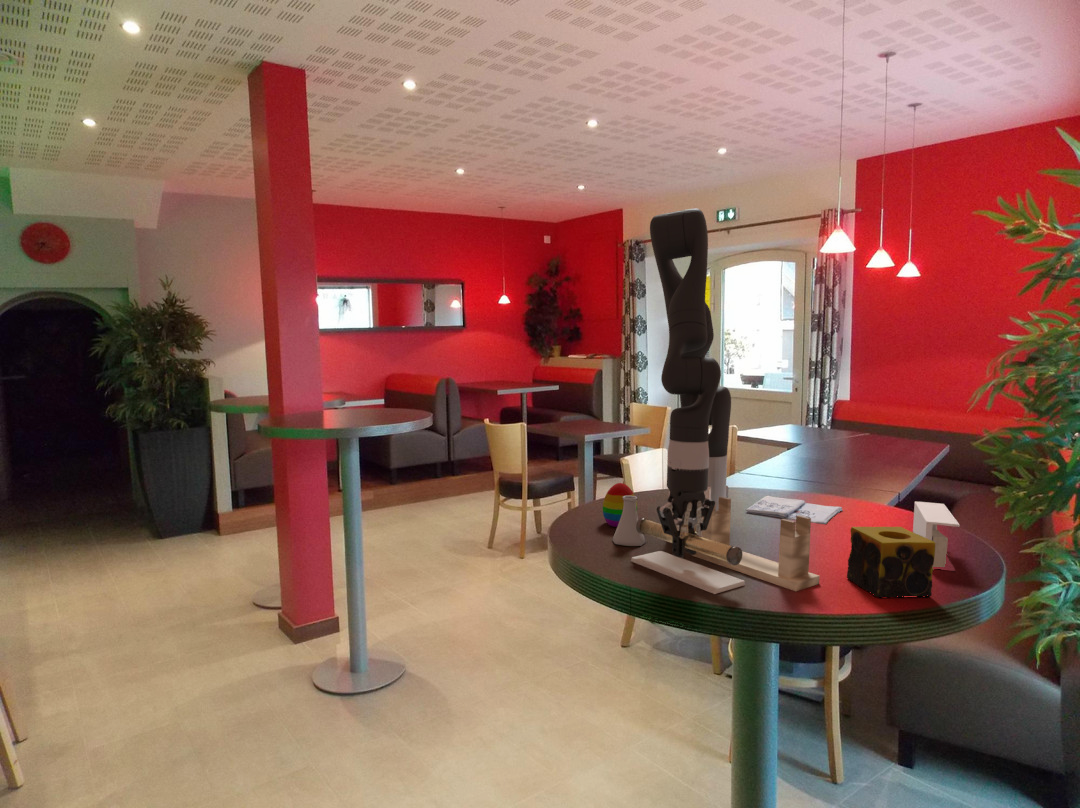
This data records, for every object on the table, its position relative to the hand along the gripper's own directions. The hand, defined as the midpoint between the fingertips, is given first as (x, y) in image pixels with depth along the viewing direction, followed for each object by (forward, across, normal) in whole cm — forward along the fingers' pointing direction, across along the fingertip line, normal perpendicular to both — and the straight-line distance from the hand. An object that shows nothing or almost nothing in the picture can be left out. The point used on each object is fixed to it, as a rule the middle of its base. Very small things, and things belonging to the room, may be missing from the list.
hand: (684, 554), depth 128 cm
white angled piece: (+4, -51, +21) cm, 55 cm away
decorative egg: (+4, -12, -32) cm, 35 cm away
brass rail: (-1, 0, 0) cm, 1 cm away
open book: (+4, -60, -18) cm, 62 cm away
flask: (+4, -5, -20) cm, 21 cm away
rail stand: (+3, -13, +6) cm, 14 cm away
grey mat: (+4, 0, 0) cm, 4 cm away
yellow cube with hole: (+4, -25, +26) cm, 36 cm away
